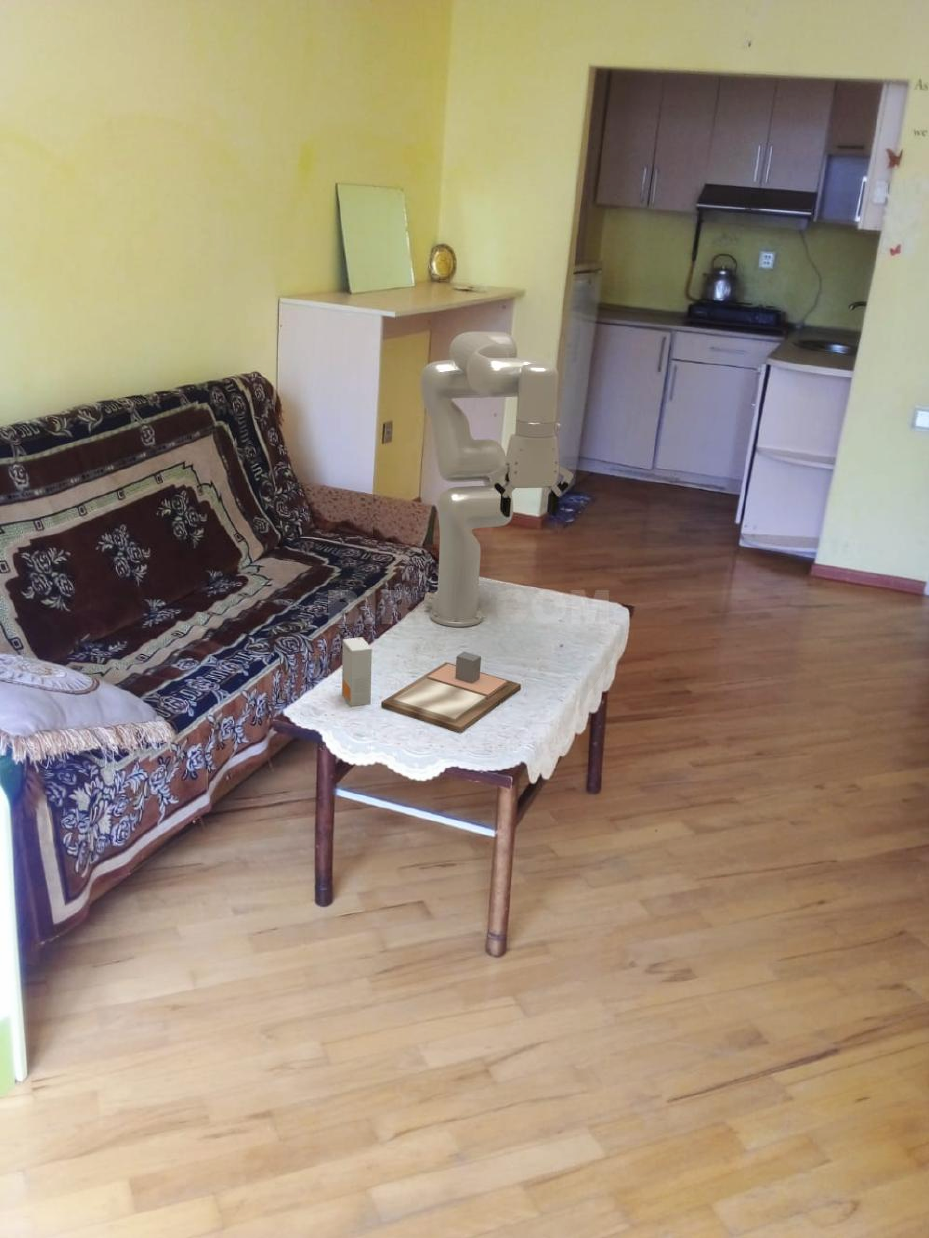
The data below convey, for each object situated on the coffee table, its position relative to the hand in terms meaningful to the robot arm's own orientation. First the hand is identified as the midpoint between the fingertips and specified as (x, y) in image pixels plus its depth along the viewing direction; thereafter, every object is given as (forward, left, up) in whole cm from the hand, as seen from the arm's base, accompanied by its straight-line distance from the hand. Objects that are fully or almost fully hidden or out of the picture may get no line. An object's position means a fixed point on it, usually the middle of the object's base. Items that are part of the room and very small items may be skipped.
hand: (528, 514), depth 220 cm
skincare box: (-20, -30, -35) cm, 50 cm away
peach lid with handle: (-5, -13, -33) cm, 36 cm away
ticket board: (-5, -18, -35) cm, 40 cm away
